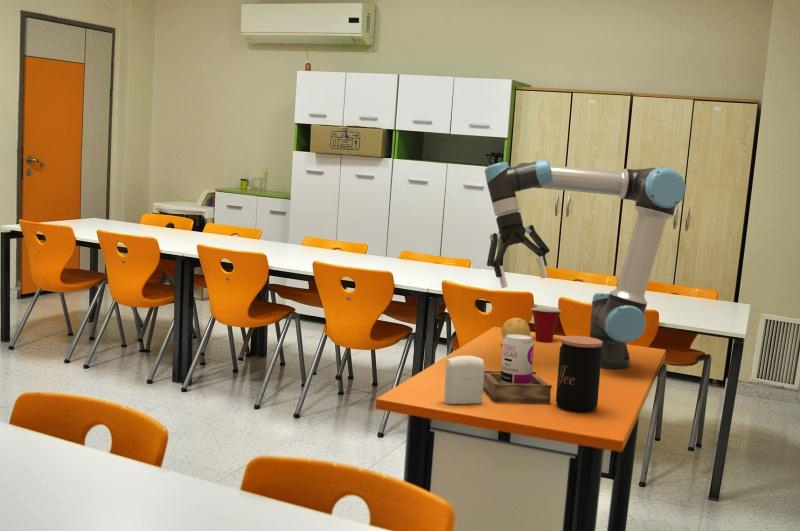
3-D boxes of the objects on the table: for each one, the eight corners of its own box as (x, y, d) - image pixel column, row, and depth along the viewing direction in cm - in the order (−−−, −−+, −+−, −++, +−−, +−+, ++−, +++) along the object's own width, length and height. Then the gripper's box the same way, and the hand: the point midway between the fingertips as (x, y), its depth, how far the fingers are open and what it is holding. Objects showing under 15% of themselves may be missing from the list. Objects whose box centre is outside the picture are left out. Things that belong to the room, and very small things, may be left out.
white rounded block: (446, 405, 220) (449, 357, 219) (441, 400, 224) (444, 354, 223) (484, 404, 223) (487, 357, 222) (478, 400, 227) (482, 354, 226)
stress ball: (506, 345, 307) (491, 328, 302) (525, 324, 308) (510, 308, 303) (521, 355, 298) (505, 338, 293) (540, 334, 299) (525, 317, 294)
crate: (534, 388, 242) (535, 371, 242) (550, 403, 227) (552, 385, 227) (480, 387, 240) (481, 370, 240) (493, 402, 225) (494, 384, 225)
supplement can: (532, 389, 236) (536, 335, 235) (527, 396, 229) (531, 340, 227) (503, 385, 239) (507, 332, 237) (497, 392, 231) (500, 337, 229)
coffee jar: (550, 401, 230) (555, 334, 228) (589, 402, 231) (595, 336, 229) (561, 412, 219) (567, 343, 217) (602, 414, 220) (608, 344, 218)
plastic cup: (557, 339, 319) (560, 307, 318) (560, 344, 308) (562, 311, 307) (528, 336, 320) (530, 304, 318) (529, 342, 309) (532, 309, 308)
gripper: (538, 208, 267) (555, 275, 266) (465, 224, 259) (482, 292, 258) (549, 204, 260) (566, 272, 259) (475, 219, 252) (492, 290, 251)
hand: (524, 282), depth 259 cm, fingers open, 13 cm apart
